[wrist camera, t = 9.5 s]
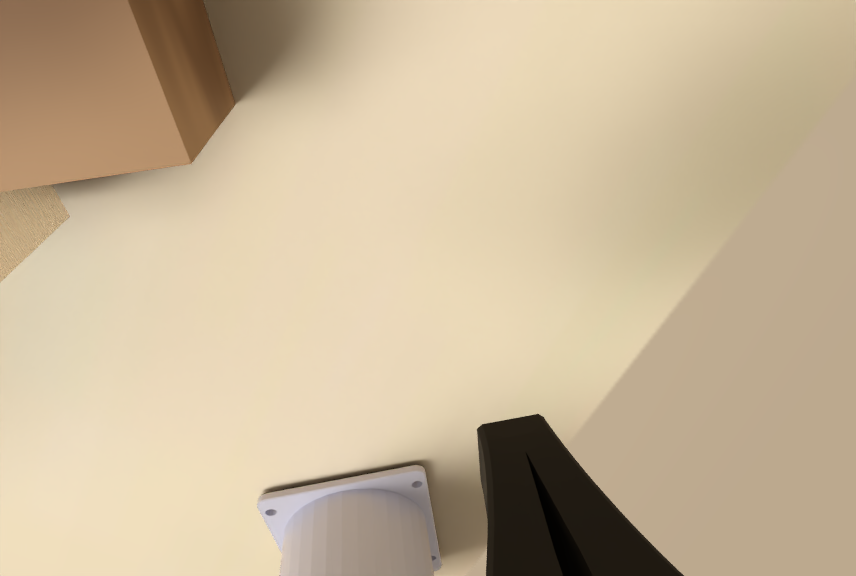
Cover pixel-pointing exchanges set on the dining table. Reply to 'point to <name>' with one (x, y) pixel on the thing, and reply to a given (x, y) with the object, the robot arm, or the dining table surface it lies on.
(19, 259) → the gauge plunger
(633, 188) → the dining table surface
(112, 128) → the walnut block
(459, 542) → the dining table surface
